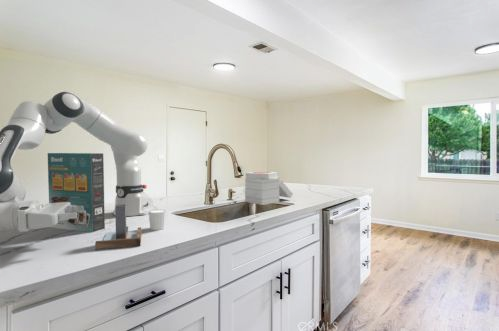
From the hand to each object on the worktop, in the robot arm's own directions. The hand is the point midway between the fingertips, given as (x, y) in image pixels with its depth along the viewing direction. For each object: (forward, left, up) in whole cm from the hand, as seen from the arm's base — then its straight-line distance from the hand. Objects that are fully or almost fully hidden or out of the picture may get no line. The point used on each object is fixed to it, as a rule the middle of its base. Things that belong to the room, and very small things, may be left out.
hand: (80, 211), depth 97 cm
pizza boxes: (-105, +36, -11) cm, 112 cm away
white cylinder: (-26, +11, -11) cm, 31 cm away
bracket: (-11, +7, -11) cm, 17 cm away
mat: (-10, +8, -11) cm, 17 cm away
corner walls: (-7, +10, -11) cm, 17 cm away
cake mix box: (-16, -20, -11) cm, 28 cm away
